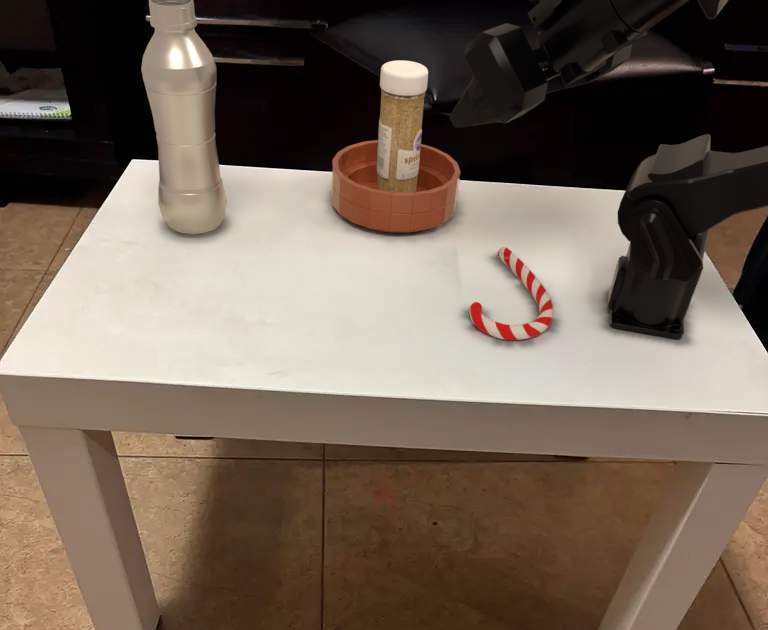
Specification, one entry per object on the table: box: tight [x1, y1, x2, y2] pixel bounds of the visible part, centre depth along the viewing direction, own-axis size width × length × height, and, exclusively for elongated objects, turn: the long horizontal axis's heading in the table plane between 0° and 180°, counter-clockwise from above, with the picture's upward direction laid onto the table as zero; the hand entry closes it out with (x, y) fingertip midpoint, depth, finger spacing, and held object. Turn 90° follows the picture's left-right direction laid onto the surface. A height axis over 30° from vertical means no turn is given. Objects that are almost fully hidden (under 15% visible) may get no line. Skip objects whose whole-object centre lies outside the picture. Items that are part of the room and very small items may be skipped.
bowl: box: [331, 139, 462, 234], centre depth 87 cm, size 13×13×4 cm
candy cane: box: [468, 246, 554, 341], centre depth 77 cm, size 8×1×15 cm
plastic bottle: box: [140, 0, 228, 235], centre depth 76 cm, size 6×7×20 cm
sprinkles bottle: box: [377, 59, 429, 193], centre depth 83 cm, size 5×5×13 cm
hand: (483, 108), depth 73 cm, fingers open, 9 cm apart
